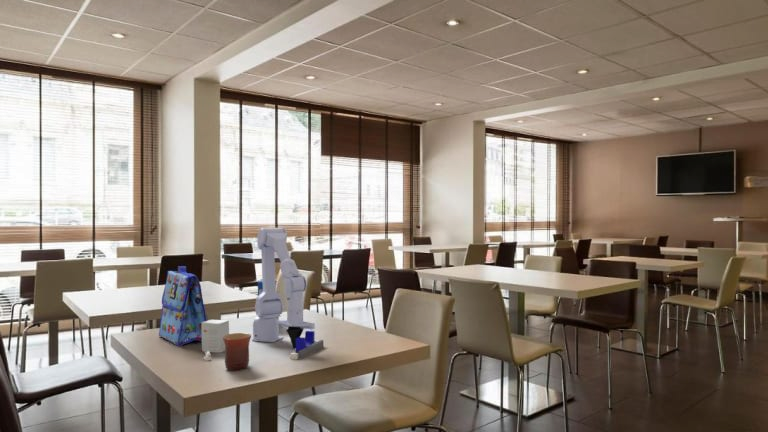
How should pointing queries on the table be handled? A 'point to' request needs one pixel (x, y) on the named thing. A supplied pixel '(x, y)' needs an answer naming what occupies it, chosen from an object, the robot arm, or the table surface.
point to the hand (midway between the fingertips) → (295, 348)
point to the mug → (236, 351)
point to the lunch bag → (182, 308)
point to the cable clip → (305, 340)
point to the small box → (214, 335)
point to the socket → (307, 350)
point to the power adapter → (207, 356)
